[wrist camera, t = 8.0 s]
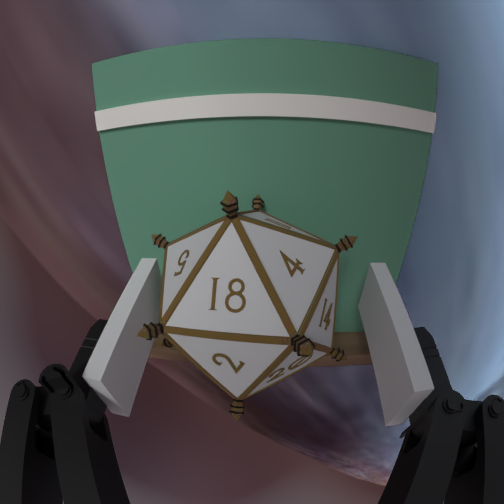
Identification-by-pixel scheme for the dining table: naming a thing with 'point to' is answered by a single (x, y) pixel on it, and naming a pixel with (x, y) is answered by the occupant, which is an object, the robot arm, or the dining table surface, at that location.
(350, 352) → the walnut backstop rail
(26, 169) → the dining table surface
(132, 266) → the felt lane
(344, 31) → the dining table surface
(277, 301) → the game die
